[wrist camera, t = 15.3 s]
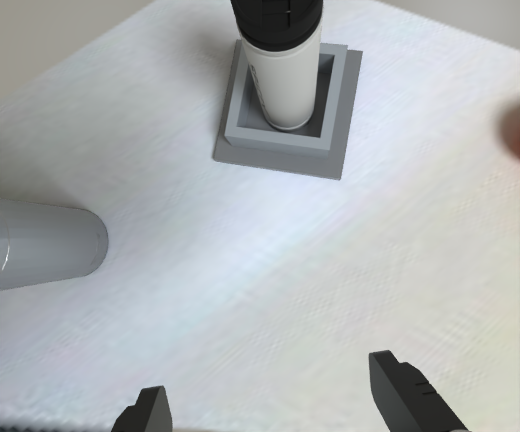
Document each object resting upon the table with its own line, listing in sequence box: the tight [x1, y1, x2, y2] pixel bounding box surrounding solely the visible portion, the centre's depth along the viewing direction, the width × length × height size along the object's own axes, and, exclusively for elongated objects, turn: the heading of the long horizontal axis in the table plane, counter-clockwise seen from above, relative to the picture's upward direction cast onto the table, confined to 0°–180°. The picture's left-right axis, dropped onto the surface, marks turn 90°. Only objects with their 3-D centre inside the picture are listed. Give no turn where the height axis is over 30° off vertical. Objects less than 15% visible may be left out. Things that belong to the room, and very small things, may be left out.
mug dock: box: [214, 40, 363, 180], centre depth 37 cm, size 16×16×5 cm
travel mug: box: [230, 0, 324, 133], centre depth 29 cm, size 6×7×20 cm
